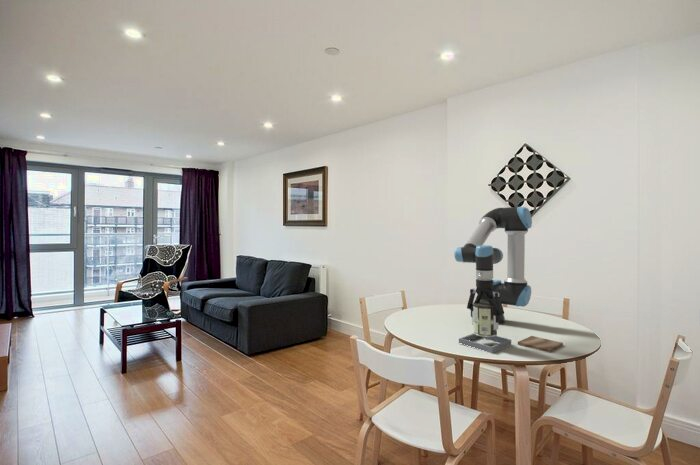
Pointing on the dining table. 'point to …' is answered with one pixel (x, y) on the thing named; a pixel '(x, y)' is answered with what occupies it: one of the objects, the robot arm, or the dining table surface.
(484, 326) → the coffee can
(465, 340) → the grey flat open frame
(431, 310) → the dining table surface
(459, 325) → the dining table surface
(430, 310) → the dining table surface
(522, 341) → the walnut board
